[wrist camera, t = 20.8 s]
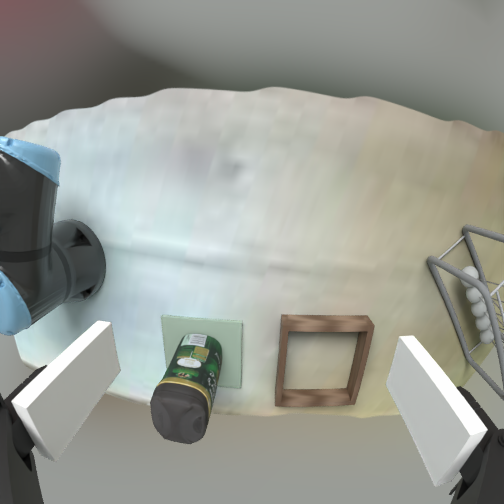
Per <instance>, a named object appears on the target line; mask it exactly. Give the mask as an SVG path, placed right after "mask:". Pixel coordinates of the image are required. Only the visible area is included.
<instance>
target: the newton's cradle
mask: <svg viewBox="0 0 504 504" xmlns="http://www.w3.org/2000/svg"><path fill="white" fill-rule="evenodd" d="M468 231H469V232H472V233H475V234H479V235H482V236H485V237H488V238H491V239H494V240H497V241H500V242H503V243H504V235H502V234H499V233H496V232H492V231H489V230H486V229H482V228H479V227H475V226H471V225H465V226H464V227H463V235H464V236H463V237H461V238H460V239H459V240H458V241H457V242H456V243H455V244H454V245H453V246H451V247H450V248H449V249H448V250H447V251H446V252H445V253H443V254H442V255H441V256H440V257H439V258H436V257H434V256H429V257H428V260H427V262H428V265H429V267H430V270H431V272H432V274H433V276H434V278H435V280H436V282H437V285H438V287H439V289H440V291H441V294H442V296H443V298H444V301H445V303H446V306H447V308H448V310H449V313H450V315H451V318H452V320H453V323H454V326H455V328H456V331H457V334H458V336H459V339H460V342H461V345H462V348H463V351H464V354H465V356H466V359H467V360H468V362H469V363H470V365H471V366H472V367H473V368H474V369H475V370H476V371H477V372H478V373H479V374H480V375H481V376H482V377H483V378H484V380H485V381H486V382H487V383H488V384H489V385H490V386H491V387H492V388H493V390H494V391H495V392H496V393H497V394H498V395H499V396H500V397H501V399H503V400H504V392H503V391H502V390H501V389H500V388H499V387H498V385H497V384H496V383H495V382H494V381H493V380H492V379H491V378H490V377H489V376H488V375H487V374H486V373H485V372H484V371H483V370H482V369H481V368H480V367H479V365H478V364H477V363H476V362H475V361H474V360H473V359H472V357H471V356H470V353H471V352H472V351H473V350H474V349H475V348H476V347H478V346H479V345H480V344H481V343H484V344H489V343H491V342H493V340H494V339H495V343H496V345H495V344H494V342H493V344H494V345H495V347H496V348H497V353H498V358H499V363H500V368H501V374H502V381H503V388H504V350H503V348H504V347H503V345H502V342H503V341H504V334H503V333H502V332H501V331H500V329H502V328H500V327H499V325H498V321H497V319H498V318H497V316H496V314H497V313H495V309H494V305H493V302H494V301H493V300H492V299H494V298H491V296H492V295H493V294H494V293H495V292H496V295H497V299H498V300H497V299H494V300H497V301H498V303H499V306H498V305H497V304H496V303H495V302H494V304H495V305H496V306H497V307H498V308H499V307H500V308H499V309H500V311H501V315H500V314H497V315H500V316H502V320H503V324H504V312H503V309H502V304H501V302H503V301H501V300H500V296H499V293H498V289H499V288H500V287H501V286H503V284H504V280H503V281H502V282H501V283H500V284H496V283H492V282H489V281H486V279H485V276H484V273H483V270H482V267H481V264H480V262H479V259H478V256H477V253H476V251H475V248H474V245H473V243H472V240H471V238H470V235H469V232H468ZM463 238H465V240H466V242H467V245H468V247H469V250H470V252H471V255H472V258H473V260H474V263H475V266H476V268H474V267H472V266H467V267H465V268H463V270H462V271H461V270H459V269H457V268H455V267H454V266H452V265H450V264H448V263H446V262H444V261H442V260H440V259H441V258H442V257H443V256H444V255H446V254H447V253H448V252H449V251H450V250H451V249H452V248H453V247H455V246H456V245H457V244H458V243H459V242H460V241H461V240H462V239H463ZM435 265H437V266H438V267H440V268H442V269H444V270H446V271H447V272H449V273H451V274H453V275H454V276H456V277H458V278H460V280H461V283H462V284H463V285H464V286H465V287H467V289H466V297H467V299H468V300H469V301H470V302H472V305H471V311H472V313H473V315H474V316H476V321H475V323H476V326H477V328H478V329H479V330H481V332H480V340H481V342H480V343H479V344H477V345H476V346H475V347H474V348H473V349H472V350H471V351H470V352H469V350H468V347H467V344H466V341H465V338H464V335H463V332H462V330H461V327H460V324H459V321H458V319H457V316H456V313H455V311H454V308H453V306H452V303H451V301H450V298H449V296H448V293H447V291H446V289H445V286H444V284H443V282H442V279H441V277H440V275H439V273H438V270H437V268H436V266H435ZM476 269H477V270H476ZM479 277H480V279H478V278H479ZM479 280H481V281H479ZM486 282H489V283H492V284H496V285H498V287H497V288H496V289H495V290H494V291H493V292H492V293H491V294H490V292H489V289H488V286H487V283H486ZM503 287H504V286H503ZM492 301H493V302H492ZM503 303H504V302H503ZM487 311H488V312H487ZM498 320H499V319H498ZM499 322H500V323H501V321H500V320H499ZM501 324H502V323H501ZM503 324H502V325H503ZM491 326H492V327H491ZM503 327H504V325H503ZM499 328H500V329H499ZM502 330H504V329H502ZM502 340H503V341H502ZM503 343H504V342H503Z"/></svg>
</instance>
